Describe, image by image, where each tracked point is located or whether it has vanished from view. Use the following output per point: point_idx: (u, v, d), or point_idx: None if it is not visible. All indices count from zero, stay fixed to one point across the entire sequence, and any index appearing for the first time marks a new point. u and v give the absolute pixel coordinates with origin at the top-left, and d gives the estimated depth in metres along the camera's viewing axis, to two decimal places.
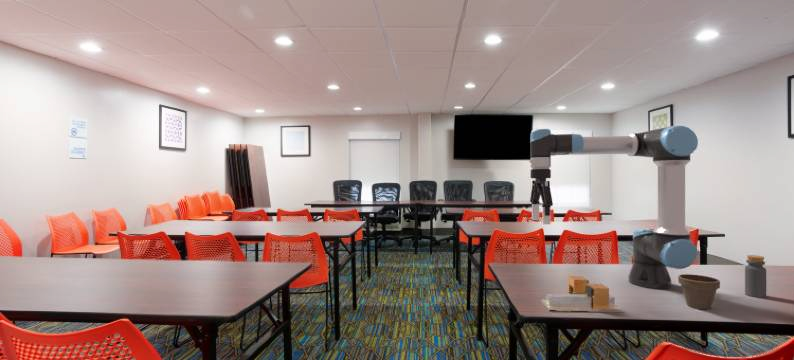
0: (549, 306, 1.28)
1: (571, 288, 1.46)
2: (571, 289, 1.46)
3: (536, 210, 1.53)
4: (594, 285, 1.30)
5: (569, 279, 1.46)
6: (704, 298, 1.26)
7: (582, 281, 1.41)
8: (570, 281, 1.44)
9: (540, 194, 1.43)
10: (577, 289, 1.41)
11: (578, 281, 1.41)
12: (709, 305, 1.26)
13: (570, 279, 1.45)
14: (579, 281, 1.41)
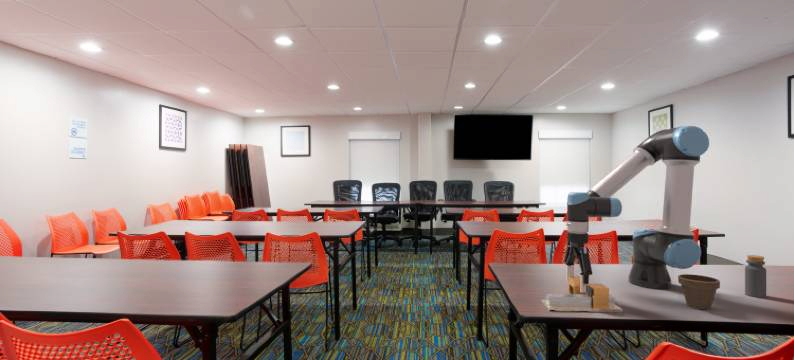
0: (549, 306, 1.28)
1: (571, 288, 1.46)
2: (571, 289, 1.46)
3: (571, 272, 1.50)
4: (594, 285, 1.30)
5: (569, 279, 1.46)
6: (704, 298, 1.26)
7: None
8: (570, 281, 1.44)
9: (578, 260, 1.40)
10: (577, 289, 1.41)
11: (578, 281, 1.41)
12: (709, 305, 1.26)
13: (570, 279, 1.45)
14: (579, 281, 1.41)
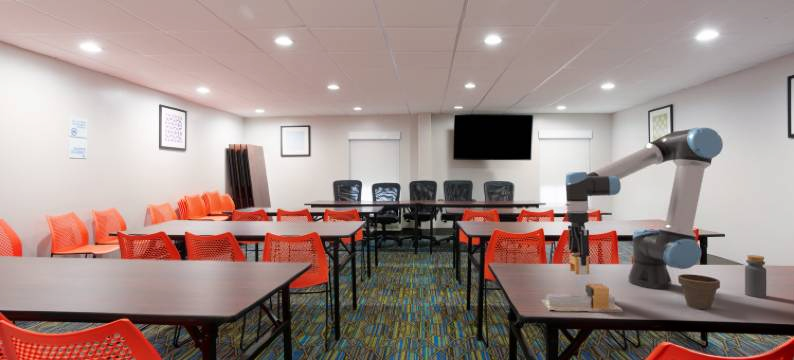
0: (549, 306, 1.28)
1: (572, 266, 1.46)
2: (572, 267, 1.46)
3: None
4: (594, 285, 1.30)
5: (570, 257, 1.46)
6: (704, 298, 1.26)
7: None
8: (572, 259, 1.44)
9: (577, 240, 1.42)
10: (578, 266, 1.41)
11: None
12: (709, 305, 1.26)
13: (571, 257, 1.45)
14: None
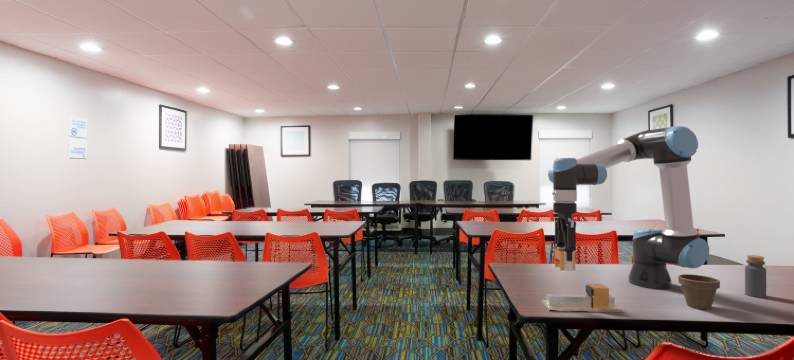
0: (549, 306, 1.28)
1: (557, 262, 1.33)
2: (557, 263, 1.33)
3: None
4: (594, 285, 1.30)
5: (555, 252, 1.32)
6: (704, 298, 1.26)
7: None
8: (557, 253, 1.31)
9: (563, 233, 1.28)
10: None
11: None
12: (709, 305, 1.26)
13: (556, 252, 1.31)
14: None
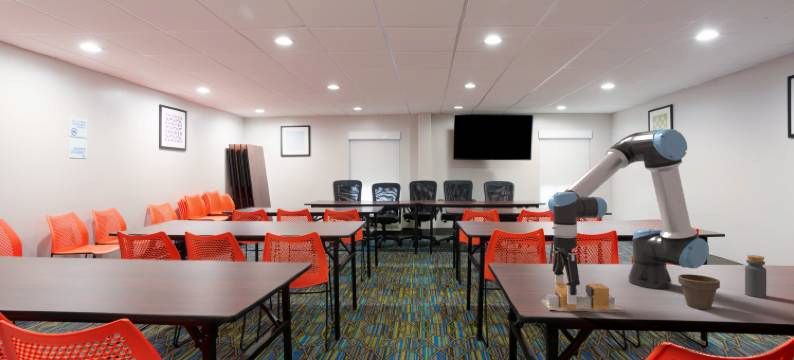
0: (549, 306, 1.28)
1: None
2: None
3: (560, 282, 1.36)
4: (594, 285, 1.30)
5: (556, 287, 1.32)
6: (704, 298, 1.26)
7: None
8: (557, 288, 1.31)
9: (565, 267, 1.27)
10: (564, 298, 1.28)
11: (565, 289, 1.28)
12: (709, 305, 1.26)
13: (557, 287, 1.31)
14: (566, 289, 1.28)
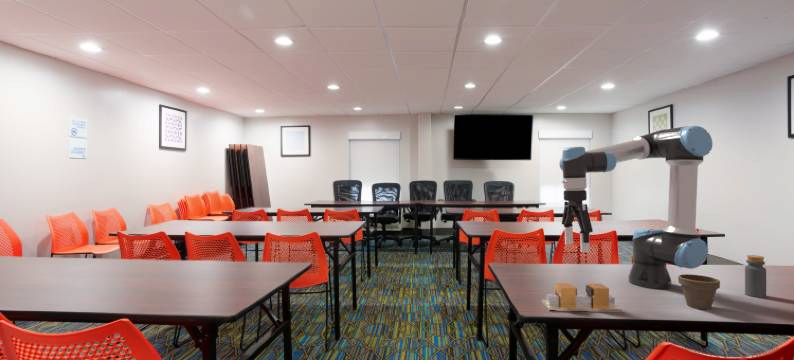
0: (549, 306, 1.28)
1: None
2: None
3: (569, 234, 1.41)
4: (594, 285, 1.30)
5: (556, 287, 1.32)
6: (704, 298, 1.26)
7: (570, 289, 1.28)
8: (557, 288, 1.31)
9: None
10: (564, 298, 1.28)
11: (565, 289, 1.28)
12: (709, 305, 1.26)
13: (557, 287, 1.31)
14: (566, 289, 1.28)
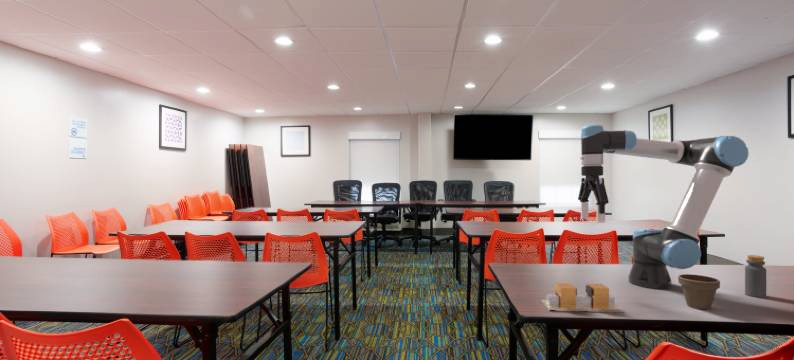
0: (549, 306, 1.28)
1: None
2: None
3: (585, 208, 1.50)
4: (594, 285, 1.30)
5: (556, 287, 1.32)
6: (704, 298, 1.26)
7: (570, 289, 1.28)
8: (557, 288, 1.31)
9: None
10: (564, 298, 1.28)
11: (565, 289, 1.28)
12: (709, 305, 1.26)
13: (557, 287, 1.31)
14: (566, 289, 1.28)
